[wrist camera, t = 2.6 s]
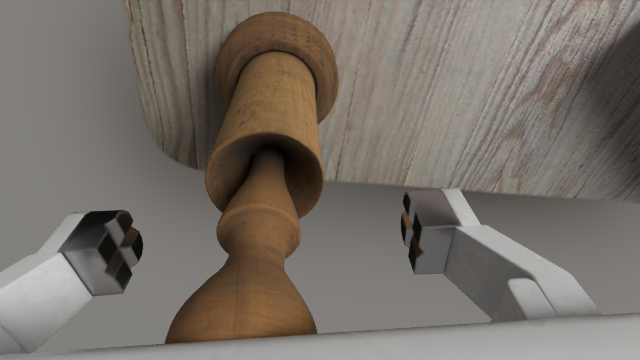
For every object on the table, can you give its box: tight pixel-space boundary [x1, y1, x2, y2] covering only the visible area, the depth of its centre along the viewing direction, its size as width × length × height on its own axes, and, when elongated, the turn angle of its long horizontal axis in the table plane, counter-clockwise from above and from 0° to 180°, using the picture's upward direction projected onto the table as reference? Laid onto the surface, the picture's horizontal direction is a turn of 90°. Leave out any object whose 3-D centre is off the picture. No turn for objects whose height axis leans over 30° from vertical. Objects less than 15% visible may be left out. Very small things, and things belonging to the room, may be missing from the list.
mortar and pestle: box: [165, 12, 339, 344], centre depth 13 cm, size 7×6×18 cm
